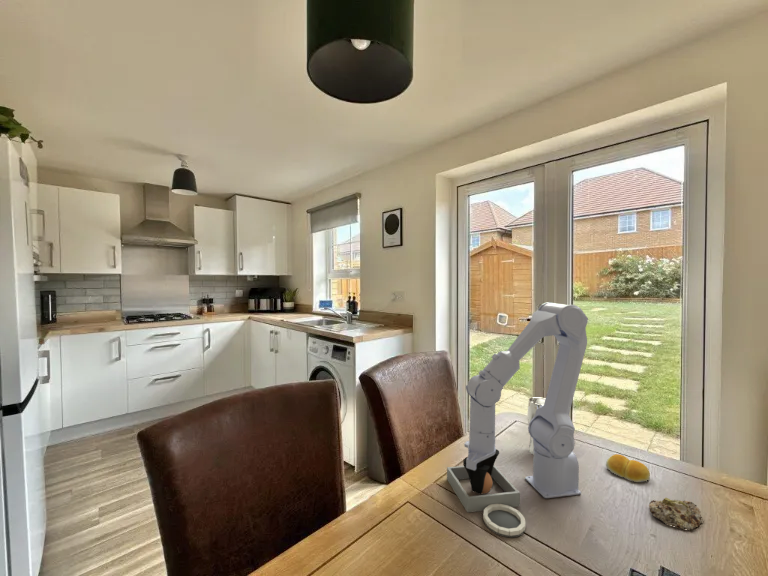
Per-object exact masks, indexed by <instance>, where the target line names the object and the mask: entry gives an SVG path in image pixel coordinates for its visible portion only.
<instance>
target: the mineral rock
mask: <svg viewBox="0 0 768 576" xmlns="http://www.w3.org/2000/svg"><path fill="white" fill-rule="evenodd" d="M648 507H649V512H650V514H651V515H652V516H653V517H655V518H656V519H657V520H660V521H661V522H662V521H663V522H664V523H665V524H664V523H663V522H662V523H663V524H664V525H666V524H668V525H672V526H671V527H673V526H675V527H678V528H677V529H679V528H682V529H681V530H683V529H687V530H689V531H690V530H694V529H696V527H697V528H698V527H699V526H700V524H702V523H703V520H702V519H703V517H702V514H701V510H700V508H699V507H698V506H697V504H695V503H694V502H692V501H690V500H689V501H688V500H681V499H680V500H679V499H671V498H668V497H665V498H663V500H655V499H653V500H651V501H650V502H649V504H648ZM668 525H667V526H668Z"/></svg>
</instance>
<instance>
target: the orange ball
mask: <svg viewBox="0 0 768 576" xmlns="http://www.w3.org/2000/svg"><path fill="white" fill-rule="evenodd" d="M492 489H493V477H492V476H490V474H489V473H488V472H487V473H486V476H485V480H484V487H483V491H482V493H481V494H480V495H486V494H488V493H489V492H490V491H491V490H492Z"/></svg>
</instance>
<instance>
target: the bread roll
mask: <svg viewBox="0 0 768 576" xmlns="http://www.w3.org/2000/svg"><path fill="white" fill-rule="evenodd" d="M605 466H606V468H607V470H610V471H609V472H611V473H612V474H613V473H614V475H615V474H616V475H615V476H617V475H618V477H620V478H623V477H624V478H623V479H626V480H627V479H628V481H630V480H631V481H630V482H633V481H634V482H633V483H642V482H641V481H646V482H648V481H649V480H650V478H651V472H650V470H649V468H648V467H647V465H645V464H644V463H642V462H640V461H638V460H634V459H631V460H630V459H629V458H628V457H626V456H625V455H622V454H619V453H618V454H617V453H616V454H613V455H611V456H609V458H608V459H607V461H606V463H605ZM647 480H648V481H647Z"/></svg>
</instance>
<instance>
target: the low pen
mask: <svg viewBox="0 0 768 576" xmlns="http://www.w3.org/2000/svg"><path fill="white" fill-rule="evenodd" d="M491 478H492V480H494V481H495V482H496V483H497V484H498V485H499V487H500V488H501V489H502V490H503V491H504V492H499V493H497V492H496V493H490V494H488V493H486V494H478V495H471V496H470V495H469V494H468V492H467V491H466V490H465V488H464V487H463V486H462V484H461V482H460V481H459V480H468V479H469V476H468V473H467V471H466V469H465V467H464V465H456V466H447V467H446V480H447V482H448V483H449V485H450V486H451V488H452V490H453V492H454V493H455V495H456V497H457V498H458V500H459V501H460V503H461V504H462V506H463V508H464V509H465V511H466V512H467V513H474V512H482V511H483V512H484V509H485V508H486V507H487V506H489V505H491V504H503V505H508V506H509V507H510V506H511V507H512V508H516V507H520V505H521V492H520V491H519V490H518V488H516V486H515V485H513V483H512V482H511V481H510V480H509V479H508V478H507V477H506V476H505V475H504V473H503V472H502V471H501V470H500V469H499V468H498V467H497V466H496V464H494V466H493V470H492V475H491Z"/></svg>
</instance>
